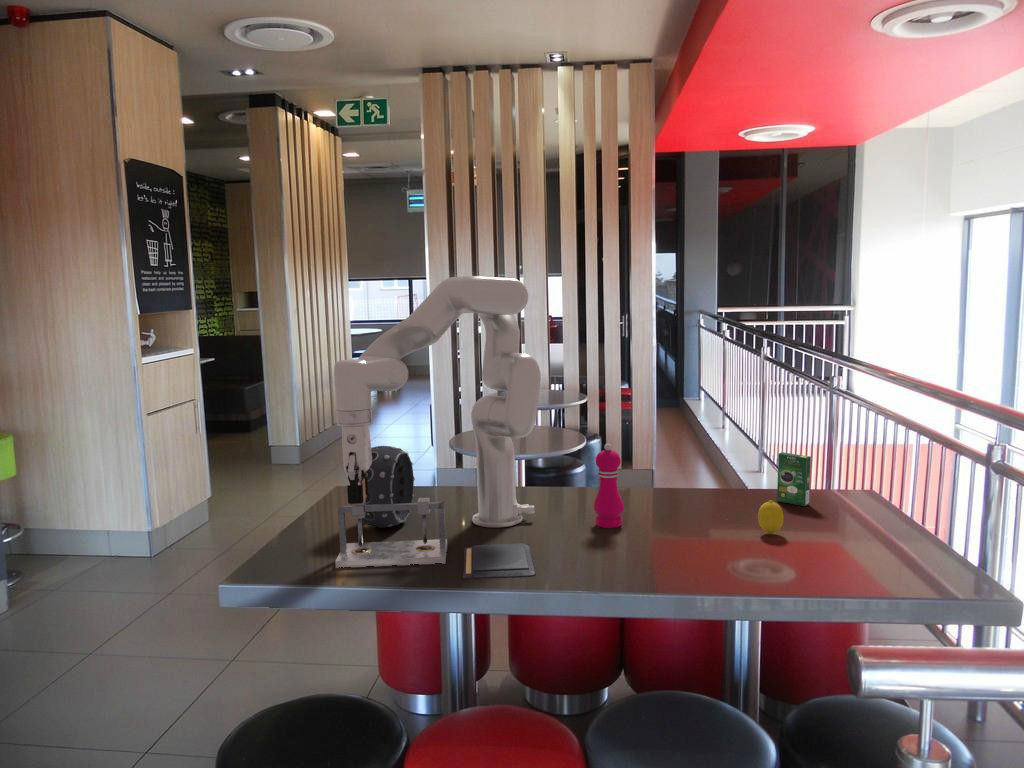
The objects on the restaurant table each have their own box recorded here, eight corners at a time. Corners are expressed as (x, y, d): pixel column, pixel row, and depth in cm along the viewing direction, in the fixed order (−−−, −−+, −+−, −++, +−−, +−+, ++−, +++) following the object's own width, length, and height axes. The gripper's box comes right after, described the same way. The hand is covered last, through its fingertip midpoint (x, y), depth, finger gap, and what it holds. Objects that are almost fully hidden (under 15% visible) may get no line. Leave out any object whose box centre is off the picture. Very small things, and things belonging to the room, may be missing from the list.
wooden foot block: (368, 543, 168) (364, 477, 167) (365, 548, 165) (362, 480, 163) (356, 544, 168) (352, 477, 167) (353, 549, 165) (350, 481, 163)
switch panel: (447, 545, 174) (445, 492, 172) (445, 563, 162) (443, 506, 160) (345, 549, 172) (342, 496, 171) (335, 568, 161) (332, 510, 159)
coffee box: (811, 504, 199) (811, 455, 197) (806, 507, 197) (806, 457, 195) (781, 499, 205) (782, 451, 203) (776, 501, 203) (776, 453, 201)
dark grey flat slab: (535, 570, 152) (459, 573, 152) (535, 579, 152) (459, 582, 152) (531, 539, 172) (463, 542, 172) (531, 548, 172) (464, 550, 172)
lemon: (787, 533, 175) (787, 499, 174) (776, 539, 171) (777, 504, 170) (764, 529, 179) (764, 496, 178) (753, 535, 175) (753, 501, 174)
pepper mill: (590, 527, 184) (589, 445, 182) (598, 519, 191) (597, 440, 189) (619, 530, 182) (618, 447, 180) (627, 521, 188) (626, 441, 186)
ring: (418, 515, 200) (415, 439, 197) (392, 538, 180) (388, 455, 178) (379, 514, 201) (375, 439, 199) (349, 537, 182) (345, 454, 180)
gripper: (366, 423, 155) (370, 508, 157) (377, 411, 172) (380, 488, 174) (329, 424, 155) (333, 510, 157) (343, 412, 172) (347, 489, 174)
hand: (358, 498), depth 165 cm, fingers open, 6 cm apart
